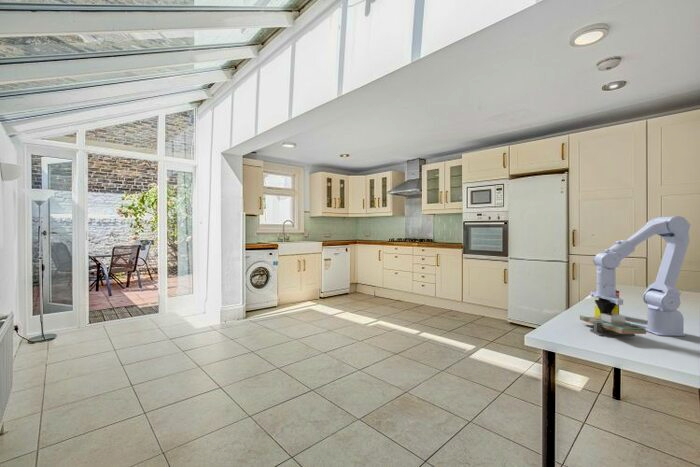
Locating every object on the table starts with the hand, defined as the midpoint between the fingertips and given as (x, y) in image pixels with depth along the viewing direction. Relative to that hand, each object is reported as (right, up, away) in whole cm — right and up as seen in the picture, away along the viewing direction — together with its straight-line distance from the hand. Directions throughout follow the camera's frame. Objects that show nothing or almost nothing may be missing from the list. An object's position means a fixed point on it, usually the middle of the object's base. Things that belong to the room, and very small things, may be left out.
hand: (605, 319), depth 122 cm
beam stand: (0, -5, -3) cm, 6 cm away
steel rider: (0, -1, -4) cm, 4 cm away
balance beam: (0, -2, -2) cm, 3 cm away
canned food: (+19, -4, +22) cm, 29 cm away
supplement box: (+11, -5, +13) cm, 18 cm away
